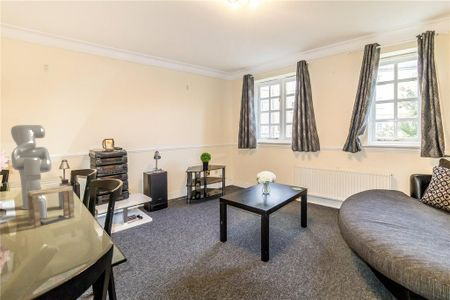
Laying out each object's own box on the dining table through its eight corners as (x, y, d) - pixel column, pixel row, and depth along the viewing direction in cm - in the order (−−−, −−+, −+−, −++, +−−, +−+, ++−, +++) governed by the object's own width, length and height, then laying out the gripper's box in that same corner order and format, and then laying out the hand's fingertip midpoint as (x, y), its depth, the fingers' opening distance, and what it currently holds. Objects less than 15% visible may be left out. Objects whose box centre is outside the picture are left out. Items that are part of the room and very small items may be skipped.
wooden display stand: (29, 224, 126) (26, 191, 125) (67, 214, 141) (65, 185, 140) (35, 227, 121) (32, 193, 120) (74, 217, 136) (72, 186, 134)
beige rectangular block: (74, 206, 157) (72, 179, 156) (62, 209, 152) (60, 181, 151) (71, 204, 162) (69, 178, 161) (59, 207, 157) (57, 180, 156)
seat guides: (38, 222, 129) (38, 219, 129) (60, 216, 137) (60, 214, 137) (44, 225, 124) (43, 222, 124) (66, 219, 133) (66, 216, 133)
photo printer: (37, 215, 142) (35, 194, 141) (46, 213, 145) (44, 193, 144) (38, 219, 134) (36, 197, 133) (47, 217, 137) (46, 196, 136)
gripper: (21, 178, 145) (23, 208, 146) (29, 179, 136) (32, 211, 137) (36, 176, 151) (38, 205, 152) (45, 177, 143) (47, 207, 143)
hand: (35, 208), depth 145 cm, fingers closed
